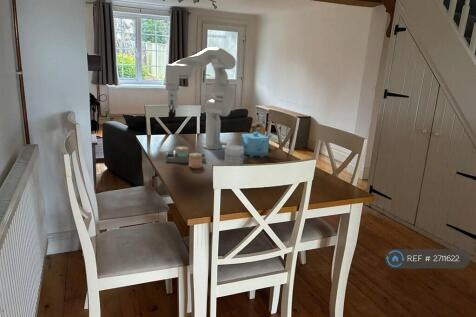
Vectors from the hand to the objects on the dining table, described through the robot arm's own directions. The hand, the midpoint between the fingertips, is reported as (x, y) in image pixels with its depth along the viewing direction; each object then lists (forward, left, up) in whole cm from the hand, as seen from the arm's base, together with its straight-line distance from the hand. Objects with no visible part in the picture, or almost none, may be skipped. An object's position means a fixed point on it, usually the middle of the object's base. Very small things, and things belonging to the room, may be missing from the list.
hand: (172, 117), depth 201 cm
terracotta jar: (-13, +18, -24) cm, 32 cm away
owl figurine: (-57, -33, -24) cm, 70 cm away
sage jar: (-6, +6, -23) cm, 24 cm away
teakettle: (-51, -7, -24) cm, 57 cm away
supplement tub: (-32, +31, -24) cm, 50 cm away
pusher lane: (-8, +6, -24) cm, 26 cm away
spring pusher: (-2, +6, -23) cm, 24 cm away
